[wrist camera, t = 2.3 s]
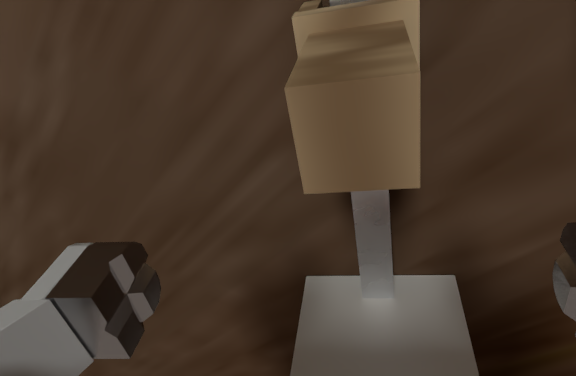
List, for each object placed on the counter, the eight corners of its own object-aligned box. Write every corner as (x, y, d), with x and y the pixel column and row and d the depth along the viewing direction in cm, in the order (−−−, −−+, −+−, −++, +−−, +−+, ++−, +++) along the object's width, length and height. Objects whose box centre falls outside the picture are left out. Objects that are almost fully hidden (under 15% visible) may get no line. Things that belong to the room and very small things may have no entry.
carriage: (411, -16, 17) (445, 41, 10) (412, 95, 20) (440, 205, 12) (302, 2, 18) (258, 65, 11) (316, 105, 21) (290, 211, 14)
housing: (454, 275, 27) (488, 413, 19) (451, 323, 29) (479, 461, 22) (306, 276, 29) (286, 400, 22) (315, 320, 32) (300, 444, 24)
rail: (377, -24, 18) (378, -18, 16) (392, 275, 28) (394, 298, 26) (331, -17, 18) (328, -9, 16) (362, 275, 28) (362, 298, 26)
